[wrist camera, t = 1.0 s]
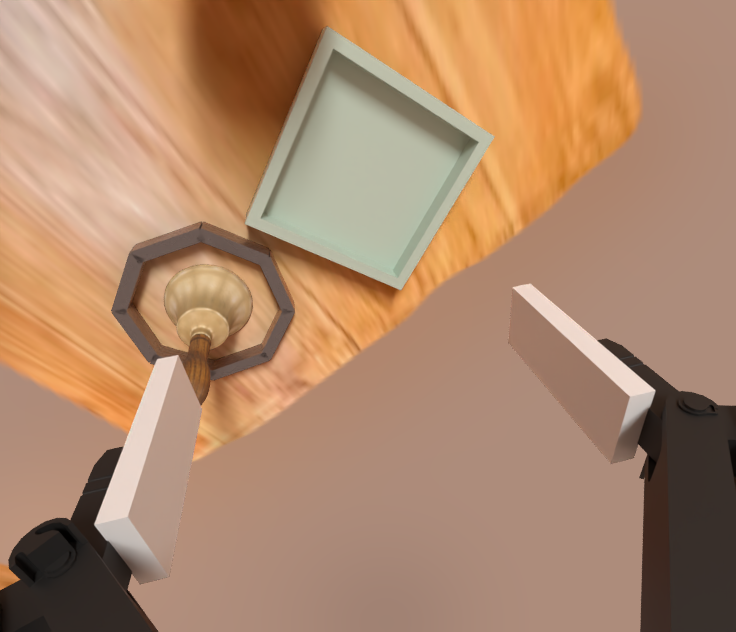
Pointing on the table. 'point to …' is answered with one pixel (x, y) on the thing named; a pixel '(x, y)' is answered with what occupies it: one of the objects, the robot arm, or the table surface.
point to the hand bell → (206, 315)
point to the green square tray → (364, 164)
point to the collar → (222, 241)
